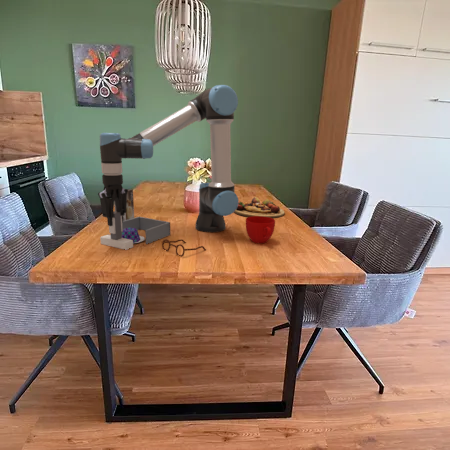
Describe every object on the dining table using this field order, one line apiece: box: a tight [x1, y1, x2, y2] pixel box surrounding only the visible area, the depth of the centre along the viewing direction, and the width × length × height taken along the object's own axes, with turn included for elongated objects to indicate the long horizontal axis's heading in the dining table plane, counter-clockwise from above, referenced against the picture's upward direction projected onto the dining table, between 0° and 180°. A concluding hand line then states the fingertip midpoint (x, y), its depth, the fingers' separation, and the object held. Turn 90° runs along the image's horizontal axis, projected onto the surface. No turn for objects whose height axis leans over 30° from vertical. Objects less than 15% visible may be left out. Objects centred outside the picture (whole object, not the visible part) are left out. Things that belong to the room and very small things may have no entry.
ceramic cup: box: [245, 216, 276, 244], centre depth 141 cm, size 13×17×10 cm
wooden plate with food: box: [233, 196, 285, 219], centre depth 198 cm, size 32×32×8 cm
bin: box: [122, 216, 171, 245], centre depth 145 cm, size 19×16×6 cm
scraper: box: [99, 210, 134, 251], centre depth 130 cm, size 14×4×14 cm, turn 62°
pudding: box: [122, 228, 146, 244], centre depth 138 cm, size 12×12×5 cm
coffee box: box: [114, 189, 135, 221], centre depth 168 cm, size 9×6×16 cm
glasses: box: [161, 238, 207, 258], centre depth 130 cm, size 13×13×5 cm
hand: (116, 231), depth 130 cm, fingers closed on scraper, 3 cm apart
